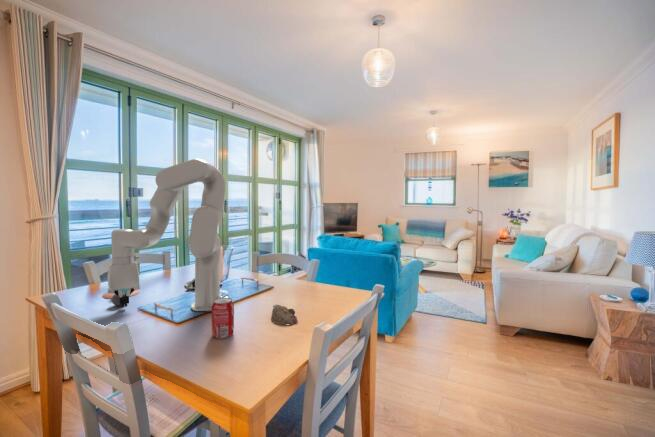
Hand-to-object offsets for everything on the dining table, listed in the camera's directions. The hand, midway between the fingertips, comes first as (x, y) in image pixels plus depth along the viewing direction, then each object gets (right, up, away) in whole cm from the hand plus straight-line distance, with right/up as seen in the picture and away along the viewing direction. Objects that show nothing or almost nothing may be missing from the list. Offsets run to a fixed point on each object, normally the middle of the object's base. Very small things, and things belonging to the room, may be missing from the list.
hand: (124, 305), depth 121 cm
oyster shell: (+65, -4, -5) cm, 65 cm away
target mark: (-14, 0, +18) cm, 23 cm away
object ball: (-10, +2, +14) cm, 17 cm away
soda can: (+46, -4, -20) cm, 50 cm away
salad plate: (+17, 0, +34) cm, 38 cm away
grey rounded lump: (-5, +2, +4) cm, 6 cm away
